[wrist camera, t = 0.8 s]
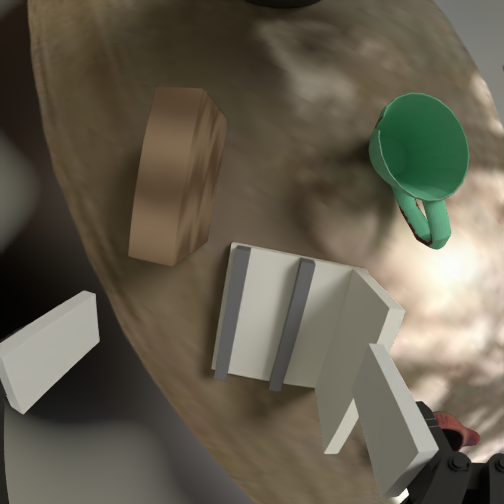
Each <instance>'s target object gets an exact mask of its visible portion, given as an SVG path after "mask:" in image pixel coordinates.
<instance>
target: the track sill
mask: <svg viewBox="0 0 504 504" xmlns="http://www.w3.org/2000/svg"><path fill="white" fill-rule="evenodd" d="M368 273H369V271H368V270H367V269H365V268H360V267H355V266H350V265H346V264H341V263H336V262H331V261H326V260H321V259H316V258H311V257H306V256H301V255H296V254H291V253H286V252H281V251H276V250H271V249H266V248H261V247H256V246H251V245H246V244H241V243H236V242H233V243H232V244H231V250H230V256H229V262H228V268H227V273H226V279H225V285H224V292H223V298H222V304H221V310H220V316H219V322H218V329H217V335H216V342H215V348H214V355H213V361H212V368H211V369H213V370H215V375H214V379H216V380H220V381H225V382H226V378H227V375H228V373H230V374H235V375H240V376H245V377H250V378H255V379H261V380H266V381H269V390H271V391H277V392H280V391H281V388H282V385H283V383H284V384H291V385H297V386H305V387H312V388H315V394H316V400H317V407H318V414H319V421H320V428H321V435H322V443H323V451H324V454H338V452H339V451H340V449H341V447H342V446H343V444H344V442H345V441H346V439H347V437H348V435H349V434H350V432H351V430H352V428H353V427H354V425H355V423H356V421H357V419H358V418H359V416H358V412H357V408H356V405H355V402H354V398H353V395H352V391H351V389H352V386H353V384H354V381H355V379H356V376H357V374H358V371H359V369H360V366H361V363H362V360H363V358H364V355H365V352H366V349H367V347H368V344H382V345H384V347H385V349H386V350H387V352H388V354H389V353H390V350H391V348H392V345H393V343H394V340H395V338H396V335H397V333H398V330H399V328H400V325H401V322H402V319H403V317H404V314H405V310H404V309H403V308H402V307H401V306H400V305H399V304H398V303H397V302H396V301H395V300H394V299H393V298H392V297H391V295H390V294H388V293H387V292H386V291H385V290H384V289H383V288H382V287H381V286H380V285H379V284H378V283H377V282H376V281H375V280H374V279H373V278H372V277H371V276H370V275H369V274H368Z"/></svg>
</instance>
